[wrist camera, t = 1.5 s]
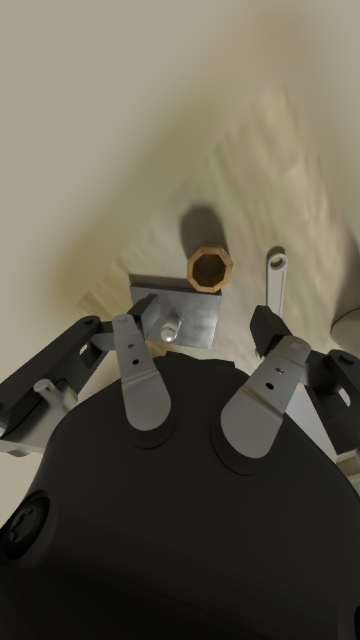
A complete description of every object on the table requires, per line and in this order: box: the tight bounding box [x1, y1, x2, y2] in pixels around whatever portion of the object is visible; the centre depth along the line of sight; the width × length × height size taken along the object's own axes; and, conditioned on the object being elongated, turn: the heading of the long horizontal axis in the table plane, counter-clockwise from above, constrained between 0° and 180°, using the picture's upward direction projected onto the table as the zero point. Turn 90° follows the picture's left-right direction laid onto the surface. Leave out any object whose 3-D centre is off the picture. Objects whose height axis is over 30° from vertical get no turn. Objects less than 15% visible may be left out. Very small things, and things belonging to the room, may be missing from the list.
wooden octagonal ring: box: [187, 243, 233, 293], centre depth 23 cm, size 6×6×5 cm
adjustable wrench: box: [256, 253, 288, 364], centre depth 28 cm, size 25×6×2 cm, turn 12°
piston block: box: [130, 283, 222, 350], centre depth 30 cm, size 18×14×8 cm
